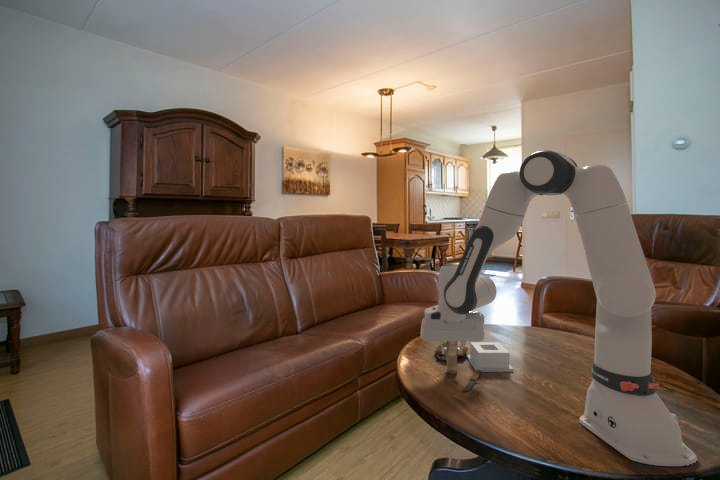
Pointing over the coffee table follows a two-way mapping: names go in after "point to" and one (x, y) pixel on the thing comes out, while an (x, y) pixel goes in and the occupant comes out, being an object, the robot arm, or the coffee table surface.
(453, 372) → the peg
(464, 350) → the decorative rock
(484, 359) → the socket
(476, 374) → the knife
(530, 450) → the coffee table surface
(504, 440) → the coffee table surface
